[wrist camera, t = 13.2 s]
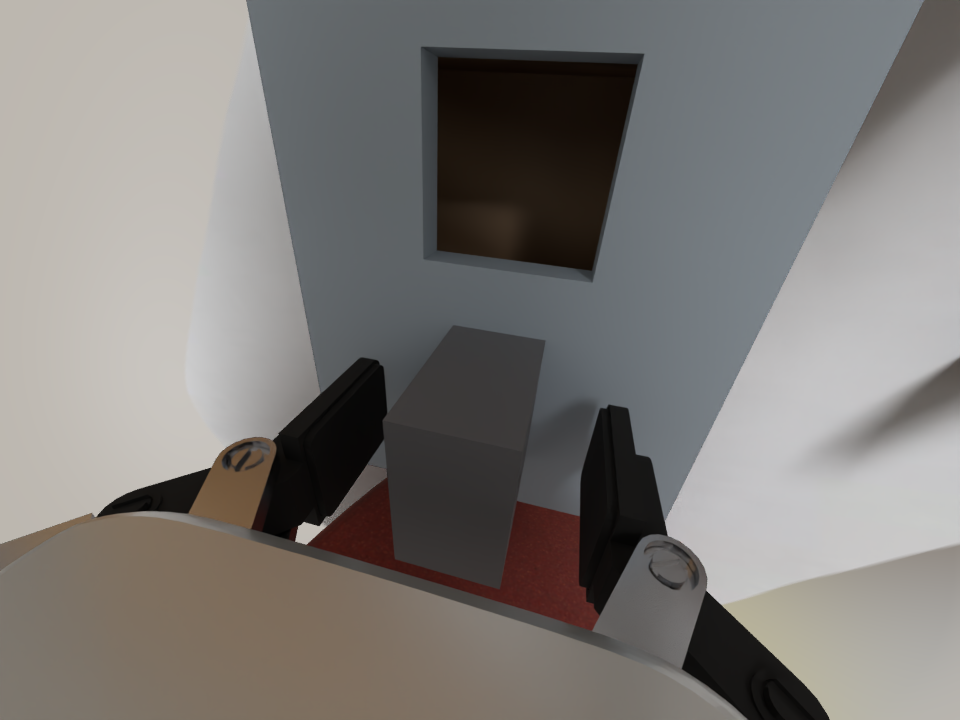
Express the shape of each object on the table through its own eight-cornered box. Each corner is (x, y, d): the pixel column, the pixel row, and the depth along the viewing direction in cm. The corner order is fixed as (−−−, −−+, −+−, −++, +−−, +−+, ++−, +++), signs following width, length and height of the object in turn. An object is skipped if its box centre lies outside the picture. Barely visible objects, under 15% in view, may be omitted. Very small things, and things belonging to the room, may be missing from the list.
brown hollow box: (392, 41, 16) (282, -18, 10) (759, 52, 13) (888, -18, 8) (406, 365, 24) (350, 434, 18) (634, 409, 21) (651, 504, 16)
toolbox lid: (274, -22, 10) (-88, -219, 4) (899, -25, 7) (1694, -457, 2) (346, 438, 18) (248, 558, 13) (652, 510, 15) (687, 695, 10)
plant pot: (382, 553, 35) (246, 824, 21) (383, 394, 26) (131, 704, 11) (582, 620, 33) (580, 979, 19) (670, 473, 23) (808, 1002, 9)
